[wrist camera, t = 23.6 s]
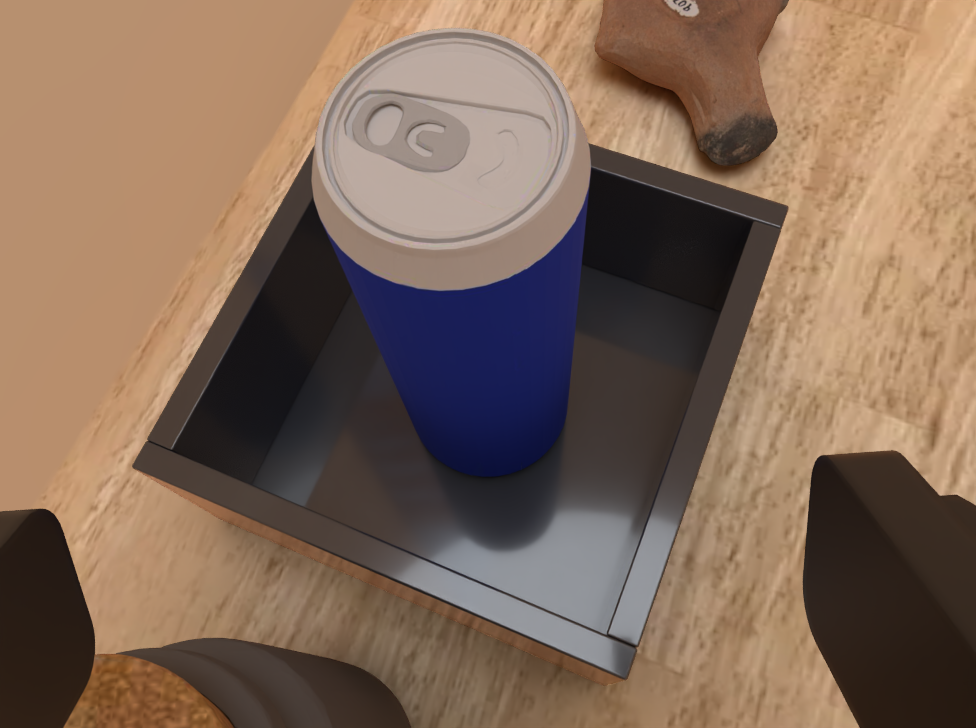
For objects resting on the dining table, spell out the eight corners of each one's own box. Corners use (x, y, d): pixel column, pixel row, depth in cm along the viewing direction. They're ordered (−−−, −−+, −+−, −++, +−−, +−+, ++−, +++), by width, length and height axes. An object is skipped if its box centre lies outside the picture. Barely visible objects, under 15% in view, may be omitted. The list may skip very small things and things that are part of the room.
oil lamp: (555, 137, 35) (751, 199, 33) (553, 81, 31) (775, 148, 30) (632, -47, 36) (821, 4, 35) (638, -122, 33) (852, -67, 31)
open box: (605, 687, 27) (626, 681, 20) (218, 518, 29) (130, 467, 23) (738, 307, 31) (789, 205, 24) (391, 189, 33) (356, 69, 27)
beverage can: (588, 362, 30) (633, 57, 16) (535, 504, 28) (533, 304, 14) (447, 315, 30) (370, -14, 16) (388, 449, 29) (247, 211, 15)
